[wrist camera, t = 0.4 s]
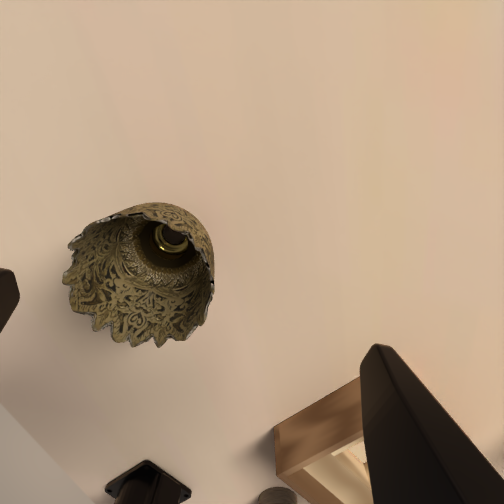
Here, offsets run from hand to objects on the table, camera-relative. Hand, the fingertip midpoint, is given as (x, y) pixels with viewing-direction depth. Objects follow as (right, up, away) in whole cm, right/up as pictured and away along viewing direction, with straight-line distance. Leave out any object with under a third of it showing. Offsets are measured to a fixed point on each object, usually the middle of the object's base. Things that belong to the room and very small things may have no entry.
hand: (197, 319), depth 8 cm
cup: (-4, +3, +16) cm, 16 cm away
